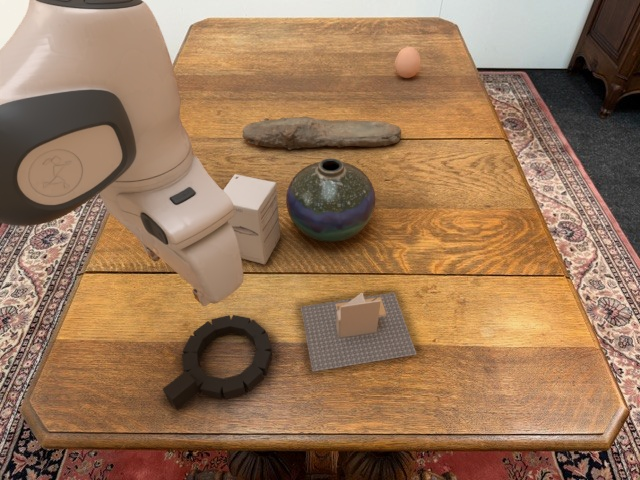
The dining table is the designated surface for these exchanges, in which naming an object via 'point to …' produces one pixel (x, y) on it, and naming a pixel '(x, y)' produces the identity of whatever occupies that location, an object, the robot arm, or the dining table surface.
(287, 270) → the dining table surface
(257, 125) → the elongated rock
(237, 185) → the white packaging box
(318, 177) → the vase
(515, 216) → the dining table surface
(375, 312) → the napkin holder
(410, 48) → the egg
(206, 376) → the rubber collar
